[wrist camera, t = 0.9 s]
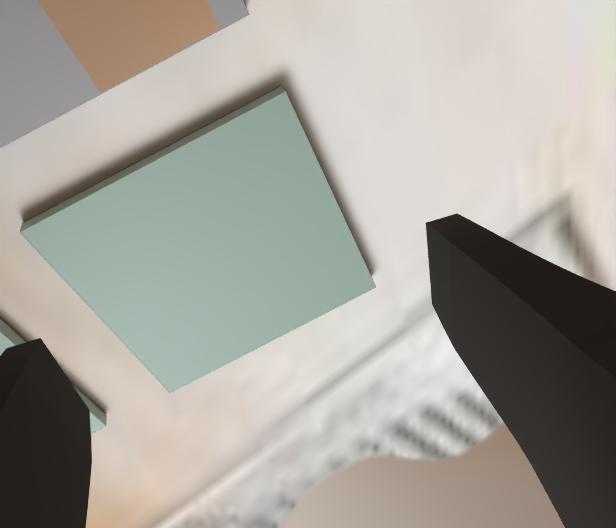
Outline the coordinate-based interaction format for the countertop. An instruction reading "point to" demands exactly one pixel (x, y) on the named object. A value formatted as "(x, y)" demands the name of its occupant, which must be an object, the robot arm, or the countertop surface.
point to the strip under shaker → (90, 49)
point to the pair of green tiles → (206, 245)
